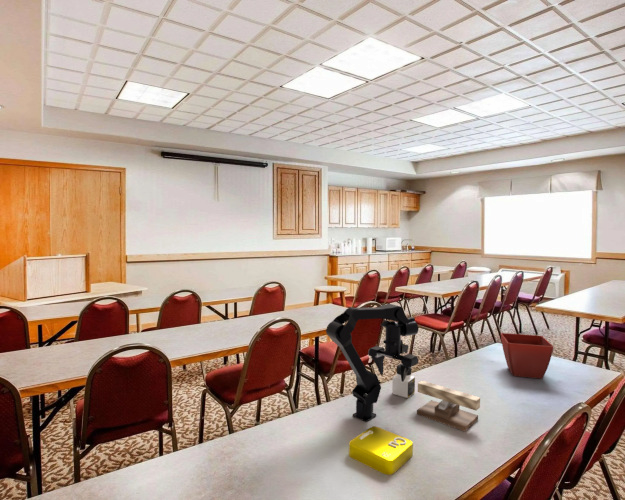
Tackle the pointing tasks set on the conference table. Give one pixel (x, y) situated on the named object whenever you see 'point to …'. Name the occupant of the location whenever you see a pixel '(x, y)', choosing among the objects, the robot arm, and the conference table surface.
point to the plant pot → (526, 354)
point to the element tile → (381, 450)
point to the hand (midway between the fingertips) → (392, 378)
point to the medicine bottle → (403, 384)
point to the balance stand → (448, 414)
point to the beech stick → (449, 395)
